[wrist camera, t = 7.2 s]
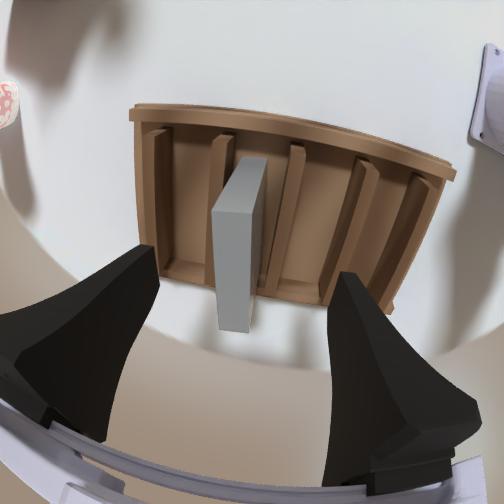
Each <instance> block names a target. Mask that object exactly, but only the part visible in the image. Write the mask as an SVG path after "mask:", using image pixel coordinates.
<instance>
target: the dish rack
mask: <svg viewBox="0 0 504 504" xmlns="http://www.w3.org/2000/svg"><path fill="white" fill-rule="evenodd" d="M129 121H134V162H135V188H136V204H137V218H138V229H139V239H140V244H144V245H151V246H154V249H155V256H156V263H157V270H158V276H161V277H166V278H170V279H175V280H180V281H185V282H190V283H195V284H200V285H205V286H210V287H216V284H215V269H214V253H213V235H212V215H211V210H212V208H213V207H214V205H215V203H216V201H217V200H218V198H219V196H220V194H221V193H222V191H223V189H224V187H225V186H226V184H227V182H228V180H229V179H230V177H231V175H232V174H233V172H234V170H235V169H236V167H237V165H238V163H239V162H240V160H241V158H242V157H255V158H268V159H267V180H266V200H265V220H264V239H263V252H262V258H261V264H260V270H259V276H258V282H257V288H256V294H255V295H259V296H265V297H271V298H277V299H283V300H289V301H295V302H302V303H308V304H315V305H321V306H329V304H330V301H331V298H332V295H333V292H334V289H335V286H336V283H337V279H338V276H339V273H340V271H344V272H352V273H356V275H357V276H358V277H359V279H360V280H361V282H362V283H363V284H364V286H365V287H366V289H367V290H368V292H369V293H370V295H371V296H372V298H373V299H374V300H375V302H376V303H377V305H378V306H379V307H380V309H381V310H382V311H383V313H384V314H387V315H391V313H392V312H393V310H394V305H393V302H392V300H393V299H394V297H395V295H396V293H397V291H398V289H399V288H400V286H401V284H402V282H403V280H404V278H405V276H406V274H407V272H408V270H409V268H410V266H411V264H412V262H413V260H414V258H415V256H416V254H417V251H418V249H419V247H420V245H421V243H422V241H423V238H424V236H425V234H426V231H427V229H428V227H429V224H430V222H431V220H432V217H433V215H434V212H435V210H436V207H437V205H438V202H439V199H440V197H441V194H442V191H443V189H444V186H445V183H446V180H449V181H452V182H453V181H454V178H455V175H456V172H457V171H456V170H455V169H453V168H452V167H451V165H452V164H451V163H449V162H448V161H445V160H443V159H440V158H437V157H435V156H432V155H430V154H427V153H424V152H422V151H419V150H416V149H413V148H410V147H407V146H404V145H401V144H398V143H395V142H392V141H389V140H386V139H382V138H379V137H375V136H372V135H369V134H365V133H361V132H358V131H354V130H350V129H346V128H342V127H338V126H334V125H329V124H325V123H320V122H316V121H311V120H306V119H301V118H295V117H290V116H284V115H278V114H272V113H265V112H259V111H251V110H243V109H234V108H225V107H214V106H201V105H184V104H135V108H132V109H129Z"/></svg>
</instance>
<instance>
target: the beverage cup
mask: <svg viewBox="0 0 504 504" xmlns="http://www.w3.org/2000/svg"><path fill="white" fill-rule="evenodd" d="M18 110H19V92H18V89H17V87H16V85H15V84H14V83H13V82H11V81H8V82H2V83H0V129H2V128H3V127H5V126H8V125H9V124H11V123H12V122H13V121H14V120H15V118H16V116H17V113H18Z"/></svg>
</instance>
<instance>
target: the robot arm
mask: <svg viewBox="0 0 504 504" xmlns="http://www.w3.org/2000/svg"><path fill="white" fill-rule="evenodd" d="M495 50H496V52H497V55H496V54H495ZM480 133H482V136H481V137H480ZM470 134H471V136H472V138H474V139H476V140H478V141H480V142H481V143H483V144H485V145H487V146H489V147H491V148H492V149H494V150H496V151H498V152H499V153H501V154H503V155H504V51H502V50H501V49H500V48H498V47H497V46H495V45H494V44H492V43H486V45H485V52H484V61H483V68H482V75H481V82H480V87H479V93H478V98H477V103H476V108H475V112H474V117H473V121H472V125H471V129H470ZM159 287H160V282H159V276H158V270H157V263H156V256H155V249H154V246H151V245H144V244H140V245H138V246H136V247H134V248H133V249H131V250H130V251H128V252H126V253H125V254H123V255H122V256H120V257H119V258H117V259H116V260H114V261H113V262H111V263H110V264H108V265H107V266H105V267H104V268H102V269H100V270H99V271H97V272H96V273H94V274H92V275H91V276H89V277H87V278H86V279H84V280H83V281H81V282H79V283H78V284H76V285H74V286H72V287H70V288H68V289H66V290H65V291H63V292H61V293H59V294H57V295H55V296H52V297H50V298H48V299H45V300H43V301H41V302H38V303H36V304H33V305H31V306H28V307H25V308H22V309H19V310H16V311H13V312H9V313H5V314H1V315H0V460H1V461H2V462H3V463H4V464H5V465H6V466H7V467H8V468H9V469H10V470H11V471H12V472H13V473H14V474H16V475H17V476H18V477H19V478H20V479H21V480H22V481H24V482H25V483H26V484H27V485H28V486H30V487H31V488H32V489H33V490H35V491H36V492H37V493H38V494H40V495H41V496H42V497H44V498H45V499H46V500H48V501H49V502H50V504H149V503H146V502H143V501H140V500H137V499H135V498H132V497H129V496H127V495H124V494H123V490H124V487H125V482H124V481H122V480H120V479H118V478H116V477H114V476H112V475H110V474H108V473H107V472H105V471H104V470H102V469H100V468H98V467H96V466H94V465H92V464H90V463H88V462H86V461H84V460H83V458H82V456H81V455H83V456H85V457H87V458H89V459H91V460H93V461H96V462H98V463H100V464H102V465H104V466H107V467H109V468H112V469H114V470H116V471H119V472H122V473H124V474H127V475H130V476H132V477H135V478H138V479H141V480H144V481H147V482H150V483H153V484H156V485H160V486H163V487H167V488H170V489H174V490H178V491H181V492H186V493H190V494H194V495H198V496H203V497H208V498H214V499H219V500H225V501H231V502H238V503H246V504H487V496H486V485H485V476H484V469H483V462H482V456H476V457H473V458H470V459H467V460H464V461H461V462H458V463H456V464H453V465H451V458H453V457H455V449H454V447H456V446H457V445H459V444H460V443H462V442H463V441H465V440H466V439H468V438H469V437H471V436H472V435H473V434H474V433H476V432H477V431H478V430H479V428H480V427H481V424H482V421H481V417H480V413H479V409H478V405H477V401H476V400H475V399H473V398H472V397H470V396H469V395H467V394H466V393H465V392H463V391H462V390H460V389H459V388H456V386H454V385H453V384H452V383H451V382H449V381H448V380H447V379H445V378H444V377H443V376H442V375H441V374H439V373H438V372H437V371H436V370H435V369H434V368H433V367H431V366H430V365H429V364H428V363H427V362H426V361H425V360H424V359H423V358H422V357H421V356H420V355H419V354H418V353H417V352H416V351H415V350H414V349H413V348H412V347H411V346H410V345H409V343H408V342H407V341H406V340H405V339H404V338H403V337H402V336H401V334H400V333H399V332H398V331H397V330H396V328H395V327H394V326H393V325H392V323H391V322H390V321H389V319H388V318H387V317H386V316H385V314H384V313H383V311H382V310H381V309H380V307H379V306H378V305H377V303H376V302H375V300H374V299H373V298H372V296H371V295H370V293H369V292H368V290H367V289H366V287H365V286H364V284H363V283H362V282H361V280H360V279H359V277H358V276H357V275H356V273H352V272H344V271H340V273H339V276H338V279H337V283H336V286H335V289H334V292H333V295H332V298H331V301H330V304H329V306H328V309H327V336H328V346H329V355H330V365H331V376H332V412H331V425H330V436H329V444H328V452H327V459H326V465H325V470H324V476H323V481H322V487H288V486H287V487H286V486H271V485H261V484H252V483H243V482H236V481H230V480H224V479H218V478H212V477H207V476H202V475H198V474H193V473H189V472H185V471H181V470H177V469H173V468H169V467H166V466H162V465H159V464H155V463H152V462H149V461H146V460H143V459H140V458H137V457H134V456H131V455H129V454H126V453H123V452H120V451H117V450H115V449H113V448H110V447H108V446H105V445H103V444H101V443H102V442H104V441H106V437H107V429H108V424H109V419H110V413H111V409H112V405H113V401H114V396H115V392H116V389H117V386H118V382H119V379H120V376H121V373H122V370H123V367H124V364H125V361H126V358H127V356H128V354H129V351H130V349H131V347H132V345H133V343H134V341H135V339H136V337H137V335H138V333H139V331H140V329H141V327H142V325H143V324H144V322H145V320H146V318H147V316H148V314H149V312H150V310H151V308H152V306H153V303H154V301H155V298H156V295H157V293H158V290H159ZM80 454H81V455H80Z"/></svg>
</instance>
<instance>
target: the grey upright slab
mask: <svg viewBox="0 0 504 504" xmlns="http://www.w3.org/2000/svg"><path fill="white" fill-rule="evenodd" d="M267 159H268V158H255V157H242V158H241V160H240V162H239V163H238V165H237V167H236V169H235V170H234V172H233V174H232V175H231V177H230V179H229V180H228V182H227V184H226V186H225V187H224V189H223V191H222V193H221V194H220V196H219V198H218V200H217V201H216V203H215V205H214V207H213V208H212V210H211V215H212V235H213V253H214V269H215V284H216V297H217V310H218V322H219V330H225V331H232V332H241V333H249V329H250V323H251V317H252V311H253V306H254V300H255V294H256V288H257V282H258V276H259V270H260V264H261V258H262V252H263V239H264V220H265V200H266V180H267Z"/></svg>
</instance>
